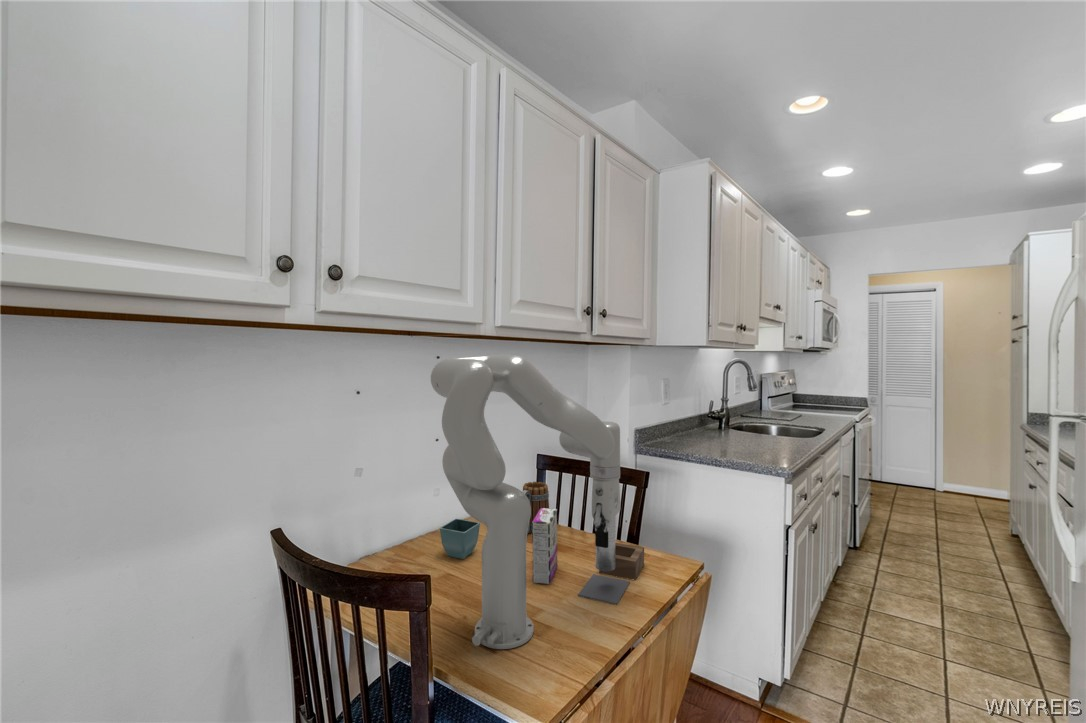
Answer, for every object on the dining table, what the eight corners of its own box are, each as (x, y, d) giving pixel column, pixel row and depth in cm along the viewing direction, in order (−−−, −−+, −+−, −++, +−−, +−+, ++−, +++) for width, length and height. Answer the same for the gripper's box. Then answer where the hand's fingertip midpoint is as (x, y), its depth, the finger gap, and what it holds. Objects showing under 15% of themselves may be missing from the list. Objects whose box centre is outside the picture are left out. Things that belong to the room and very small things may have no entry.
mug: (528, 521, 171) (528, 479, 171) (555, 526, 167) (556, 482, 166) (506, 536, 157) (506, 490, 157) (535, 542, 153) (535, 494, 152)
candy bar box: (540, 564, 136) (540, 507, 136) (557, 566, 135) (557, 508, 135) (531, 583, 125) (531, 521, 125) (550, 585, 124) (550, 522, 124)
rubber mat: (617, 604, 115) (617, 603, 115) (577, 596, 119) (577, 594, 119) (629, 582, 126) (629, 581, 126) (593, 575, 130) (593, 573, 130)
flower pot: (464, 563, 137) (464, 532, 137) (439, 558, 140) (438, 527, 140) (480, 551, 145) (480, 522, 145) (455, 547, 149) (455, 518, 148)
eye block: (635, 580, 127) (635, 561, 127) (599, 573, 131) (599, 554, 131) (644, 565, 136) (644, 547, 136) (609, 558, 140) (609, 541, 140)
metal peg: (612, 572, 119) (612, 516, 119) (592, 569, 121) (592, 513, 121) (617, 564, 124) (617, 510, 123) (599, 561, 126) (599, 507, 125)
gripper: (609, 481, 112) (610, 558, 113) (628, 465, 128) (628, 533, 128) (579, 478, 115) (579, 553, 116) (601, 462, 131) (601, 528, 131)
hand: (605, 541), depth 122 cm, fingers closed on metal peg, 5 cm apart
